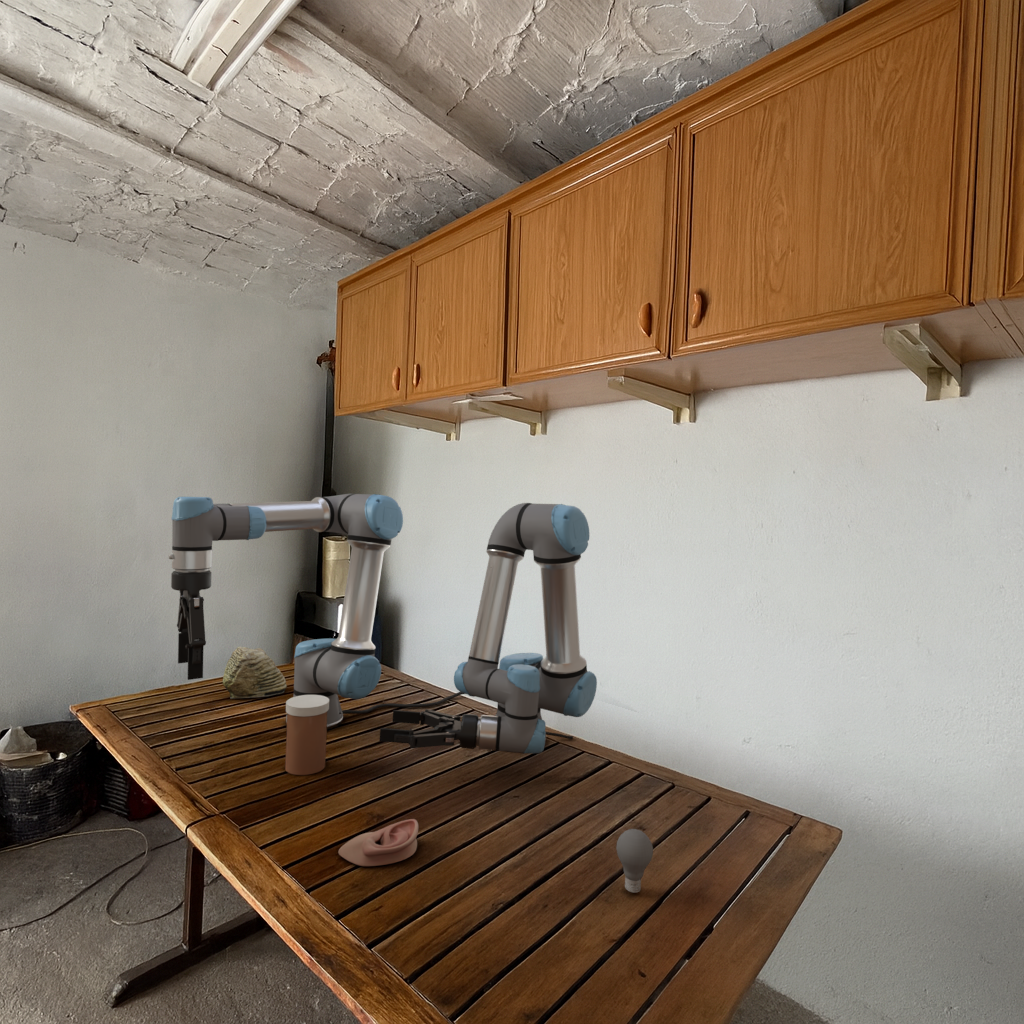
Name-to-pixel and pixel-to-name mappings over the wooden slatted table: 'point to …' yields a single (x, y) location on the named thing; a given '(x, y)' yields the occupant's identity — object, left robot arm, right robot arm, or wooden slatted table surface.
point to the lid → (307, 705)
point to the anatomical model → (382, 845)
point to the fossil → (252, 674)
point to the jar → (306, 744)
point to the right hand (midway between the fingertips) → (386, 724)
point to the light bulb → (634, 857)
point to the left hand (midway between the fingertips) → (189, 670)
